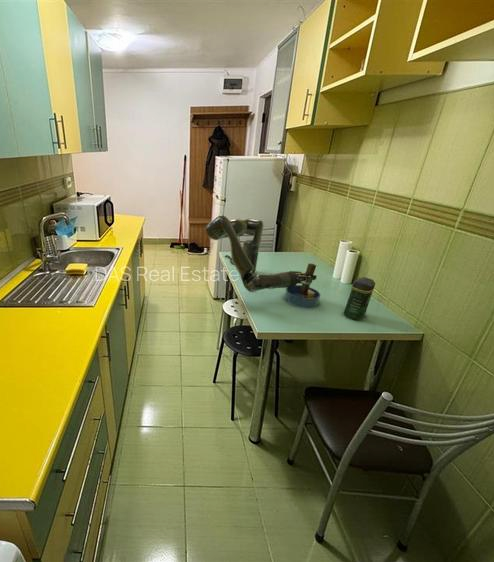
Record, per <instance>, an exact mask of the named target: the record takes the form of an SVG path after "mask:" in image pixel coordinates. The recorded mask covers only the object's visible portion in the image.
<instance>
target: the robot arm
mask: <svg viewBox="0 0 494 562" xmlns="http://www.w3.org/2000/svg"><path fill="white" fill-rule="evenodd" d="M263 230H264V221H262V220H259V219H254V218H246V219H240V218H233V219H230V220H229V218H228V217H227V216H225V215H223V214H220V215H219V214H218V216H216V217H215V218H214V219H212V220H211V221H210V222H209V223H207V224H206V227H205V233H206V235H207V236H208V238H209V239H211V240H213V241H219V240H222V239H226V238H227V239H229V243H230V255H227V254H226V255H224V257H225V258H227V257H228V258H229V259H230V263H231V264H232V265H234V266H235V268H236V270H237V272H238V273H239V275H240V278H241V281H242V284H243V287H244V288H245V289H246V290H247V291H248V292H249V293H256V292H259V291H262V290H266V289H267V290H274V289H286V288H287V287H293V286H295V285H302V283H305V285H306V286H308V285H309V284H310V285H311V284H313V281H316V280H317V275H316V274H313V275H312V276H306V275H305V273H306V272H302V271H298V270H297V271H295V270H289V271H282V272H277V273H271V274H256V273H257V266H258V265H257V264H258V258H259V251H260V245H261V241H262V236H263ZM244 235H247V236H253V238H251V239H246V240H244V241H243V245H242V244H241V241H240V240H239V238H238V237H242V236H244ZM307 278H308V279H307Z"/></svg>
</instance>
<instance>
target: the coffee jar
mask: <svg viewBox="0 0 494 562" xmlns="http://www.w3.org/2000/svg"><path fill="white" fill-rule="evenodd" d="M375 286H376V282H375V280H373V279H372V278H368V277H365V276H363V277H358V278H356V279H354V281H353V282H352V285H351V289H350V292H349V295H348V299H347V302H346V304H345V308H344V311H343V315H344V316H345V317H347V318H348V319H351V320H357V321H361V320H363V318H365V317H366V313H367V310H368V306H369V304H370V301H371V298H372V295H373V292H374V290H375Z"/></svg>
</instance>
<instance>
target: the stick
mask: <svg viewBox="0 0 494 562" xmlns="http://www.w3.org/2000/svg"><path fill="white" fill-rule="evenodd" d="M316 267H317V264H314V263H307V267H306V271H305V272H304V273H305V275H306V276H312V275H315V271H316ZM307 279H308V278H307ZM301 285H302V286H301V289H300V292H299V293H300V294H302V295H307V293H308V290H309V287H310V286H311V284H309V285H308V286H306V285H305V283H301ZM310 288H311V287H310Z"/></svg>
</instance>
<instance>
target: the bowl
mask: <svg viewBox="0 0 494 562" xmlns="http://www.w3.org/2000/svg"><path fill="white" fill-rule="evenodd" d="M301 286H302V284H296V285H295V286H293V287H286V288H285V291H284V296H283V297H284V300H285V301H286V302H287V303H289V304H291V305H292V306H293V305H294V306H296V307H301V308H314V307H316V306H318V305H319V304H320V299H321V292H319V291H318V290H317V289H315V288H313V287H309V290H311V291H313V292H314V293H315V295H314V298H312V299H309V298H302V294H300V293H299V292H300V289H301Z"/></svg>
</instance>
